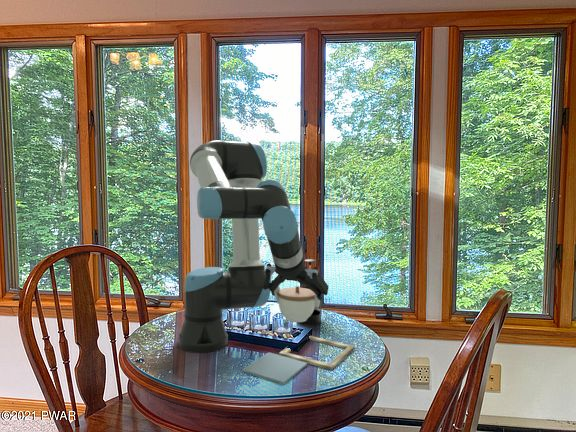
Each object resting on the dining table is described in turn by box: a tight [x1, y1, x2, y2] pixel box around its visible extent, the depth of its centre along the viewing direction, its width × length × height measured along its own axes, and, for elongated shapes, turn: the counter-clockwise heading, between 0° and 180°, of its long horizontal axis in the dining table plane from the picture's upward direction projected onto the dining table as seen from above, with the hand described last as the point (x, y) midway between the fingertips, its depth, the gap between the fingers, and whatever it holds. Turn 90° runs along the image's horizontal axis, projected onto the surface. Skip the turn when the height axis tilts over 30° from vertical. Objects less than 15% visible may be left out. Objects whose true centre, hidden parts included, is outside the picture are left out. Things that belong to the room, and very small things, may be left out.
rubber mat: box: [241, 351, 308, 385], centre depth 112 cm, size 13×13×1 cm
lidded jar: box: [278, 285, 315, 323], centre depth 115 cm, size 11×11×9 cm
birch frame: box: [278, 335, 355, 371], centre depth 123 cm, size 17×17×1 cm
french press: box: [296, 258, 322, 326], centre depth 150 cm, size 12×9×23 cm
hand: (298, 301), depth 118 cm, fingers closed on lidded jar, 11 cm apart
